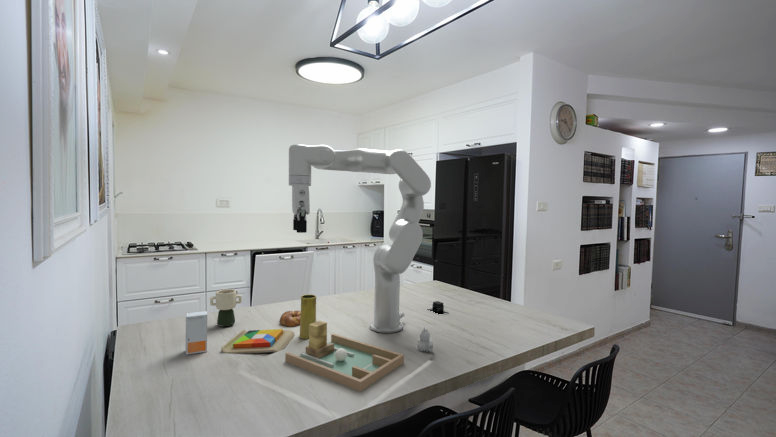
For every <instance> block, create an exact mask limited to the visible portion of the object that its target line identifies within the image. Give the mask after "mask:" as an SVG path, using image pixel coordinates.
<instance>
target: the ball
mask: <svg viewBox="0 0 776 437" xmlns="http://www.w3.org/2000/svg"><path fill="white" fill-rule="evenodd" d="M335 358H336V360H338V361H344V360H345V359H346V358H347V352H346V350H345V349H343V348H340V349H338V350H337V351H336V352H335Z"/></svg>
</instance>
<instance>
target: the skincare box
mask: <svg viewBox="0 0 776 437" xmlns="http://www.w3.org/2000/svg"><path fill="white" fill-rule="evenodd" d="M207 352H208V310H204V311H203V310H202V311H194V312H188V313H185V355H186V356H188V355H192V354H193V355H194V354H200V353H201V354H202V353H207Z"/></svg>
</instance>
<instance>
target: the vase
mask: <svg viewBox="0 0 776 437" xmlns="http://www.w3.org/2000/svg"><path fill="white" fill-rule="evenodd" d="M300 311H301V319H300V325H299V338H300V339H302V340H303V339H304V340H309V324H312V323H315V322H317V296H316V295H314V294H309V293H308V294H302V295H301V296H300Z"/></svg>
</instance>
